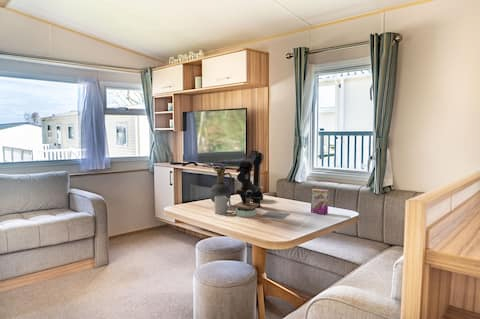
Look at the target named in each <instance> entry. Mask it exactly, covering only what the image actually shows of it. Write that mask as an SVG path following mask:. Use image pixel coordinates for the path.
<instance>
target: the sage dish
mask: <svg viewBox="0 0 480 319" xmlns="http://www.w3.org/2000/svg"><path fill="white" fill-rule="evenodd" d="M235 215H236V217H243V218H250V217H255V216H257V208H253V209H243V208H235Z"/></svg>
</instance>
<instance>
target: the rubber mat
mask: <svg viewBox="0 0 480 319" xmlns="http://www.w3.org/2000/svg"><path fill="white" fill-rule="evenodd" d="M290 215H291V213H287V212H278V211H271V210H270V211H269V210H268V211H267V212H265V213H263V214H261V215H260V217H261V218H262V217H263V218H269V219H270V218H271V219H276V220H284V219H286V218H288V217H289V216H290Z"/></svg>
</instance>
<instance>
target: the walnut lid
mask: <svg viewBox="0 0 480 319" xmlns="http://www.w3.org/2000/svg"><path fill="white" fill-rule="evenodd" d="M259 205H260V206H261V203H260V204H258V203H253V202H251V201H250V198H246V203H245V204H244V203H243V201H242V200H241V201H239V202H238V203H237V202H236V203H234V204H231V208H235V209H236V208H243V209H253V208H255V207H257V206H259ZM255 209H256V208H255Z"/></svg>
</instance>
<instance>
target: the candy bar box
mask: <svg viewBox="0 0 480 319" xmlns="http://www.w3.org/2000/svg"><path fill="white" fill-rule="evenodd" d="M310 200H311V201H310V203H311V204H310V214H315V213H318V215H326V214H327V215H328V213H329V189H320V188H312V189H311V199H310Z"/></svg>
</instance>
